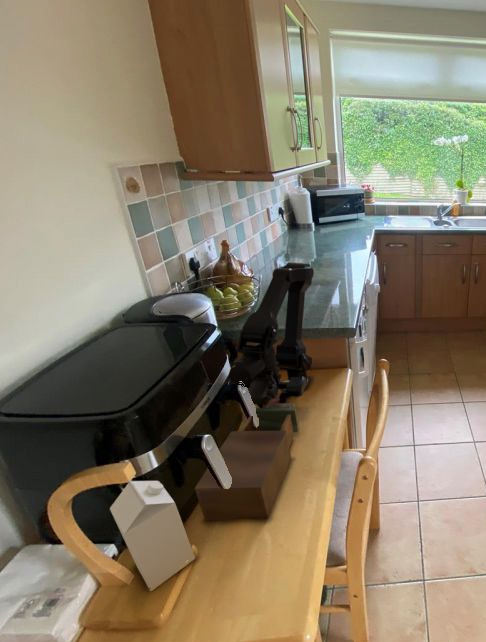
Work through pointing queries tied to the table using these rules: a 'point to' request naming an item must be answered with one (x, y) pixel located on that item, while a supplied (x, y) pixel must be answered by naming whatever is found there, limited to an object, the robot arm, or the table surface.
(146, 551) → the milk carton
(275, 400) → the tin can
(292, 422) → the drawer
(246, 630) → the table surface
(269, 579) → the table surface
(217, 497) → the brown wooden block
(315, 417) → the table surface
